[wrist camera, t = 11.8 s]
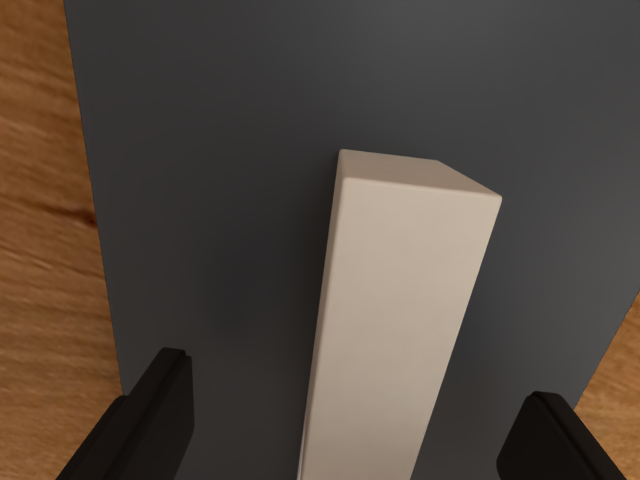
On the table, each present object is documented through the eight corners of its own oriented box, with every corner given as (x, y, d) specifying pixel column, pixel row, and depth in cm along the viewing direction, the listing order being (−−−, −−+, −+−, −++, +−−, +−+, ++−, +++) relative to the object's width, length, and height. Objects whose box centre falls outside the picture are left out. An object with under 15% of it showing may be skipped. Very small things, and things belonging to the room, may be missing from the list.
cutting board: (163, 539, 18) (149, 574, 17) (94, -61, 8) (47, -93, 7) (453, 572, 18) (463, 610, 17) (724, 18, 8) (801, 1, 7)
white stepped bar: (339, 148, 9) (342, 176, 5) (439, 160, 9) (505, 196, 5) (286, 558, 16) (273, 679, 12) (340, 564, 16) (342, 687, 13)
